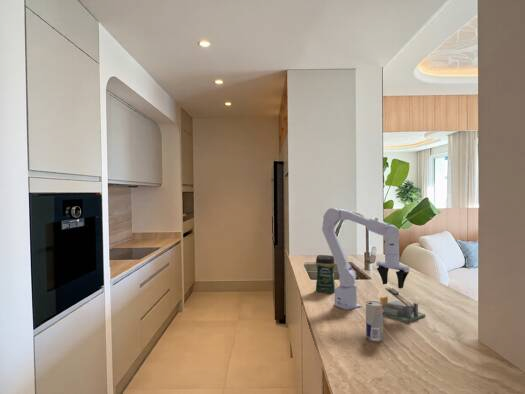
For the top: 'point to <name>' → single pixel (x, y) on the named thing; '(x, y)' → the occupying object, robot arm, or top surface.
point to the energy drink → (374, 321)
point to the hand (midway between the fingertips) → (392, 286)
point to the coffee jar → (325, 274)
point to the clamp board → (409, 315)
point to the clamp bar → (399, 297)
